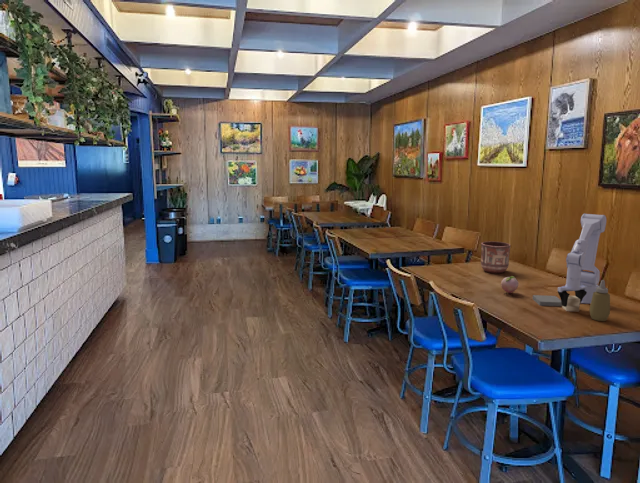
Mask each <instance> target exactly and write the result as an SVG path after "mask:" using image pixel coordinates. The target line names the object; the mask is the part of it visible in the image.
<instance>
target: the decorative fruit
mask: <svg viewBox="0 0 640 483" xmlns="http://www.w3.org/2000/svg"><path fill="white" fill-rule="evenodd" d="M500 282H501V283H500V286H501V289H503V291H504V292H506V293H508V294H512V293H514V292H515V291H516V290H517V289H518V287H519V281H518V279H516V277H515V276H513V275H510V276H507V277H504V278H503V279H501V281H500Z"/></svg>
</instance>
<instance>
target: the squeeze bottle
mask: <svg viewBox="0 0 640 483" xmlns="http://www.w3.org/2000/svg"><path fill="white" fill-rule="evenodd" d="M598 286H599V287H596V292H594V293H593V296H592V300H591V304H590V305H589V308H588V309H589V310H588V311H589V315H590V318H591V320H594V321H598V322H607V320H608V319H609V316H610V314H611V294H610V293H609V288H607V287H606V282H605V279H602V280H600V284H599V285H598Z"/></svg>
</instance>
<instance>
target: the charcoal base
mask: <svg viewBox="0 0 640 483" xmlns="http://www.w3.org/2000/svg"><path fill="white" fill-rule="evenodd" d="M532 300H533V301H534V302H535V303H536V304H538V305H539V306H543V307H562V303H561V298H560V297H557V296H556V295H541V294H539V295H538V294H532Z"/></svg>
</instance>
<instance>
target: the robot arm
mask: <svg viewBox="0 0 640 483" xmlns="http://www.w3.org/2000/svg"><path fill="white" fill-rule="evenodd" d="M580 224H581V228H582V229H581V233H580V234H579V235H580V236H579V238H578V239H576V240H575V242H574V243H573V246H572V248H571V251H570V252H568V253H567V255H566V258H565V262H566V268H567V270H566V281H565V285H562V286H558V287H557V293H558V295H559V299H560V300H561V303H562V306H564V307H566V306H567V300H568V297H569V296H571V295H570V294H571V293H569V292H574V296H576V297H578V298H579V299H580V304H587V305H588V304H590V305H591V300H592V296H593V293H594V292H596V287H599V286H600V285H599V282H600V276H601V275H600V274H601V272H600V270H599V269H598V267H596V266H595V264H596V258H597V252H598V247H599V242H600V237H601V233H605V230H606V226H607V216H606V215H605V214H594V213H593V214H592V213H583V214H582V215H581V217H580ZM562 306H561V307H562Z"/></svg>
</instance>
